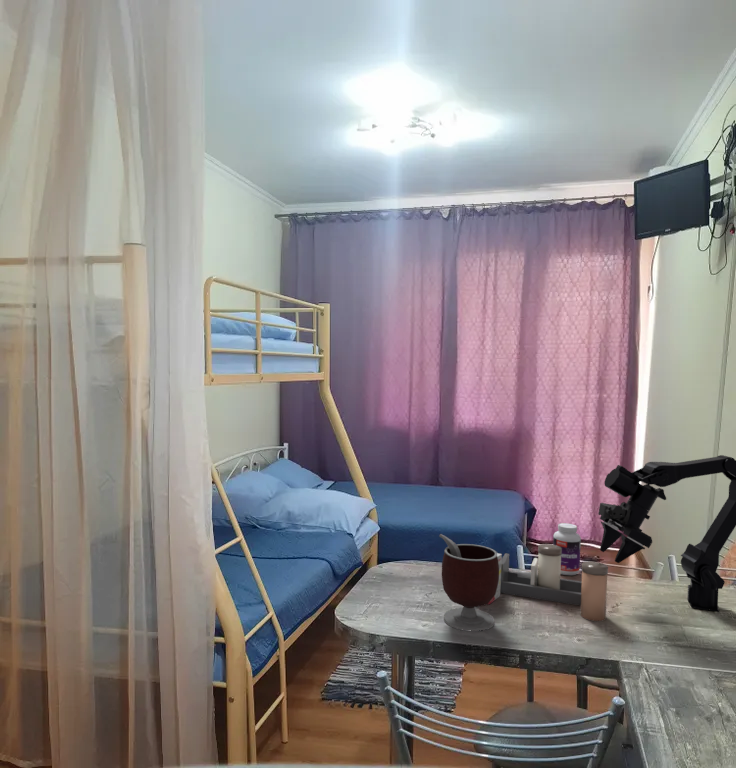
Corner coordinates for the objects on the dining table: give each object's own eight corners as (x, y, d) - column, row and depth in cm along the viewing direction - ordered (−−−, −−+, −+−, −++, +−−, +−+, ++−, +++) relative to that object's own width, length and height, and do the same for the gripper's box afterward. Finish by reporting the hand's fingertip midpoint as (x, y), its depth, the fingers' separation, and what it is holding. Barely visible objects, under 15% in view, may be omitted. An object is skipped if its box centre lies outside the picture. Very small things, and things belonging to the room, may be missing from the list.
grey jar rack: (595, 594, 170) (596, 565, 170) (594, 607, 160) (595, 577, 160) (504, 580, 179) (505, 553, 179) (497, 592, 170) (498, 563, 170)
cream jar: (561, 591, 171) (562, 545, 171) (559, 599, 166) (560, 551, 165) (538, 588, 174) (539, 542, 173) (535, 595, 168) (537, 548, 168)
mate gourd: (506, 618, 153) (508, 538, 152) (483, 638, 141) (486, 552, 140) (450, 603, 161) (452, 528, 161) (424, 621, 150) (426, 540, 149)
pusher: (537, 586, 174) (538, 558, 174) (533, 594, 168) (534, 566, 167) (519, 583, 176) (520, 555, 176) (515, 591, 170) (516, 563, 169)
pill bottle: (551, 574, 185) (553, 527, 185) (552, 566, 193) (553, 521, 193) (580, 577, 183) (581, 530, 183) (579, 569, 191) (580, 523, 190)
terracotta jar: (606, 613, 157) (608, 563, 156) (605, 623, 151) (607, 571, 151) (580, 609, 159) (582, 560, 159) (579, 618, 153) (581, 567, 153)
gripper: (598, 483, 171) (570, 532, 171) (628, 498, 152) (597, 552, 152) (632, 503, 171) (604, 551, 172) (666, 520, 153) (635, 574, 153)
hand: (608, 556), depth 162 cm, fingers open, 9 cm apart
